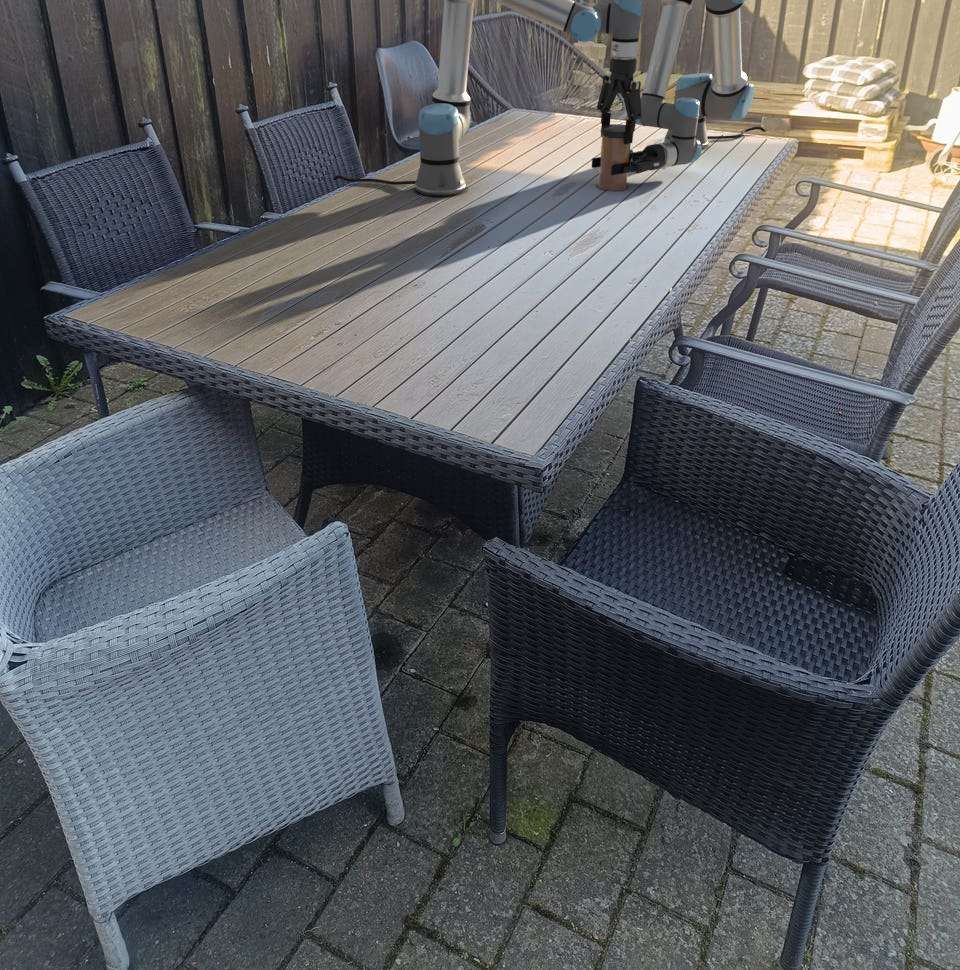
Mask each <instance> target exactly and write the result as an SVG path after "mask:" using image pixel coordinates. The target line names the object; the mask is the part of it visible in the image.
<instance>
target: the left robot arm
mask: <svg viewBox="0 0 960 970" xmlns="http://www.w3.org/2000/svg"><path fill="white" fill-rule="evenodd" d="M476 1H477V0H443V10H442V24H441V38H440V53H439V65H438V66H439V67H438V81H437V89H436V90H435V91H434V92H433V93H432V95H431V104H429V105H425V106H423V107H422V108H420V110H419V112H418V119H417V120H418V121H417V123H418V134H419V135H418V136H419V138H418V139H419V157H420V158H419V159H420V161H419V162H420V164H419V168H418V172H417V176H416V180H399V181H392V180H386V179H379V178H349V177H346V176H344V175H341V174H337V175H335V176H334V177H333V178H332V181H337V180H339V179H341V180H343V181H346V182H350V183H351V182H352V183H363V182H364V183H367V182H369V183H380V184H386V185H393V186H395V185H396V186H399V185H401V186H402V185H414V186H415V192H417V193H418V194H420V195H424V196H430V197H450V196H455V195H459V194H461V193H463V192H464V191H466V181H465V178H464V176H463V172H462V169H461V165H460V144H459V143H460V141H461V140H462V139H463V138H464V137H465V136H466V135H467V133H468V132H469V130H470V127H471V123H472V113H471V110H470V108H471V97H470V95H469V94H468V93H467V83H468V72H469V61H470V51H471V50H470V49H471V40H472V29H473V16H474V7H475V6H474V5H475V2H476ZM490 1H492V2H494V3H496V4H499V5H501V6H503V7H505V8H508V9H511V10H513V11H515V12H518V13H520V14H522V15H524V16H526V17H529V18H532V19H534V20H536V21H538V22H541V23H543V24H546V25H548V26H551V27H553V28H555V29H557V30H560V31H563V32H564V33H566V34H569V35H570V36H573V37H574V38H575V39H576V40H577V41H578V42H580V43H581V42H582V43H588V42H590V41H592V40H594V39H595V38H596V37H597V36H598V35H599V34H600V35H601V34H602V35H603V34H605V35H609V34H610V35H611V46H610V47H611V48H610V56H611V57H610V59H609V70H608V71H609V72H610V73H611V74H605V75H603V76H602V84H601V89H600V93H599V97H598V101H597V105H596V109H597V111H598V110H599V111H600V114H601V115H600V116H601V117H600V118H601V119H600V124H601V127H602V126H604V125H610V124H611V119H612V113H611V108H612V106H613V104H614V102H615V100H616V97H617V95H618V94H619V95H620V96H621V97H622V98H623V103H624V107H625V111H626V112H625V113H626V115H627V119H626V120H625V125H626V126H625V137H624V144H630V143H631V144H633V141H634V133H635V131H636V124H635V123H636V120H637V119H641V118H642V112H641V86H642V82H641V81H640V80H639V81H636V80H634V74H635V73H636V70H637V61H638V60H637V58H636V57H638V54H639V53H638V52H639V51H638V50H639V40H640V39H639V38H640V31H641V30H640V29H641V21H642V8H643V7H642V5H643V0H614V1H613V2H611V3H610V2H609V3H608V2H607V3H605V2H603V3H602V2H586V1H582V2H577V1H574V0H490ZM637 114H638V115H637ZM632 115H633V116H632ZM633 132H634V133H633ZM600 137H601V138H602V135H601V134H600Z"/></svg>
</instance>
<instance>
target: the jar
mask: <svg viewBox="0 0 960 970" xmlns="http://www.w3.org/2000/svg"><path fill="white" fill-rule="evenodd" d="M631 144H632V143H630V144H624V138H612V137H606V136H603V135H602V137H601V145H600V156H599V157H600V167H599V169H598V182H597V187H598V188H599V189H601V190H605V191H611V192H613V191H614V192H615V191H618V192H619V191H623V190H625V189H627V184H628V174H629V172H628V173H622V174H617V175H611V169H612V165H617V164H623V163H628V162H629V155H630V150H631Z"/></svg>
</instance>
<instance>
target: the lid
mask: <svg viewBox="0 0 960 970" xmlns="http://www.w3.org/2000/svg"><path fill="white" fill-rule="evenodd" d="M625 126H626V124H621V123H612V124H611V123H610V125H604V126H602V125H601V127H600V136H601V135H603V136H606V137H612V138H624V137H625ZM634 133H635V131H634V132H633V134H634Z"/></svg>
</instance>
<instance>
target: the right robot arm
mask: <svg viewBox="0 0 960 970" xmlns="http://www.w3.org/2000/svg"><path fill="white" fill-rule="evenodd" d="M694 1H695V0H660V4H661V6H662V10H661V14H660V17H659V22H658V26H657V30H656V34H655V38H654V43H653V47H652V51H651V54H650V55H651V56H650V59H649V63H648V67H647V72H646V76H645V81H644V84H643V89H642V93H641V95H640V98H641V112H642V118H641V119H637V120H636V123H635V125H639V126H642V127H650V128H658V129H663V130H666V134H665V136H664V140H663V142H659V143H654V144H653V143H652V144H648V145H646V146H645V147H644V148H643V150H639V151H634V150H632V149H630V155H629V162H628V163H623V164H617V165H612V169H611V175H617V174H622V173H628V174H629V173H635V174H637V175H639V174H641V173H645V172H647V171H648V172H649V171H655V170H660V169H662V170H666V168H670V167H676V166H681V165H682V166H683V165H688V164H692V163H694V162H696V161H698V159H700V158H701V157H700V156H701V155H702V150H703V149H704V150H705V149H706V148H707V147H708V143H709V142H708V141H709V140H723V139H724V140H726V139H727V140H728V139H736V138H741V137H743V136H744V134H745V133H747V132H752V131H754V130H760V131H761V132H763V133H766V129H765V128H764V127H762V126H752V127H748V128H746V129H742V130H741V132H740V133H739V134H732V135H708V133H707V127H706V126H707V125H706V120H707V118H713V119H721V120H727V121H738V122H739V121H742V120H743V119H745V117H746V116H747V114H748V112H749V111H750V108H751V106H752V104H753V103H752V102H753V99H754V95H755V85H754V84H753V83H748V76H747V74H746V72H745V71H744V70H743V63H742V62H743V61H742V59H743V58H742V30H741V29H742V28H741V8H742V7H743V6H744V4H745V3H746V2H745V1H747V0H704V5H705V11H706V12H707V13H708V14H710V17H711V31H712V32H711V35H712V51H713V52H712V53H713V66H714V77H713V74H712V73H710V72H709V73H708V72H703V73H701V72H699V73H690V74H684V75H682V76H680V77H678V79H677V81H676V85H675V89H674V99H673V103H671V102H665V100H666V96H667V92H668V87H669V84H670V80H671V76H672V72H673V68H674V65H675V61H676V57H677V52H678V49H679V45H680V41H681V37H682V34H683V30H684V25H685V22H686V17H687V14H688V12H689V11H690V10H692V8H693V3H694ZM637 115H638V114H637ZM632 116H633V115H632ZM591 168H592V169H595V168H600V156H597V157H592V158H591Z"/></svg>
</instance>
